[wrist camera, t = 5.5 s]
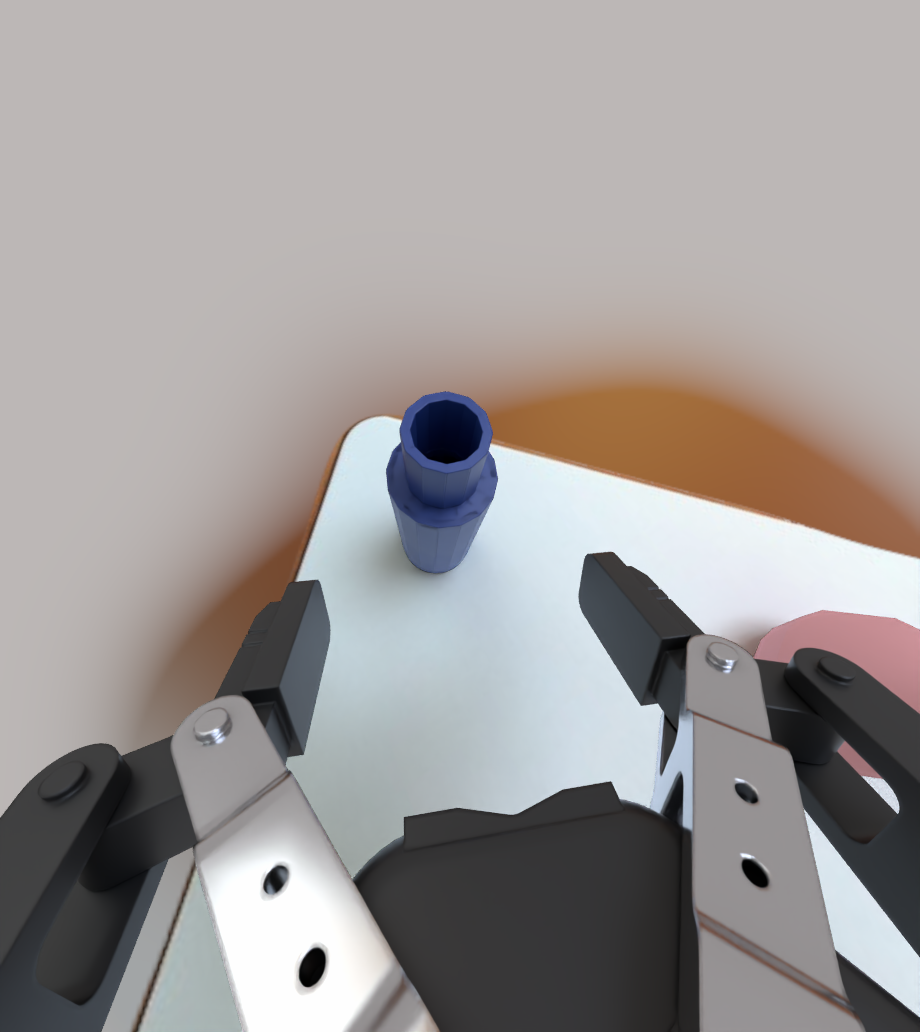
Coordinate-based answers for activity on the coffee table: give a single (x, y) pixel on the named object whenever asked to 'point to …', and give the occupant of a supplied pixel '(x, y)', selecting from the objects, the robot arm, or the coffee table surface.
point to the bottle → (441, 479)
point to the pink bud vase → (855, 654)
